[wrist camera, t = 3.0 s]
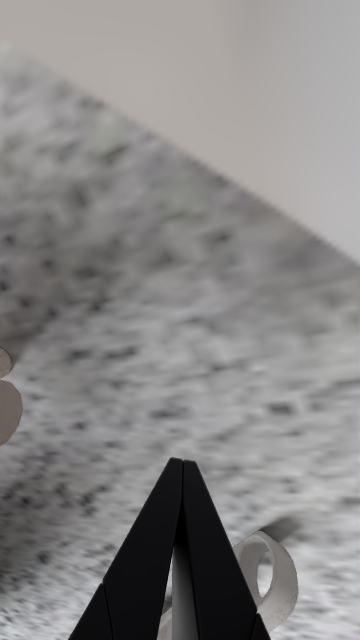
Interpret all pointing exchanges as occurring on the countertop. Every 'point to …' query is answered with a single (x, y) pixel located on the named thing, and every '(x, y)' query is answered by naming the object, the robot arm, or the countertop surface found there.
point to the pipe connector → (8, 401)
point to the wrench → (278, 597)
